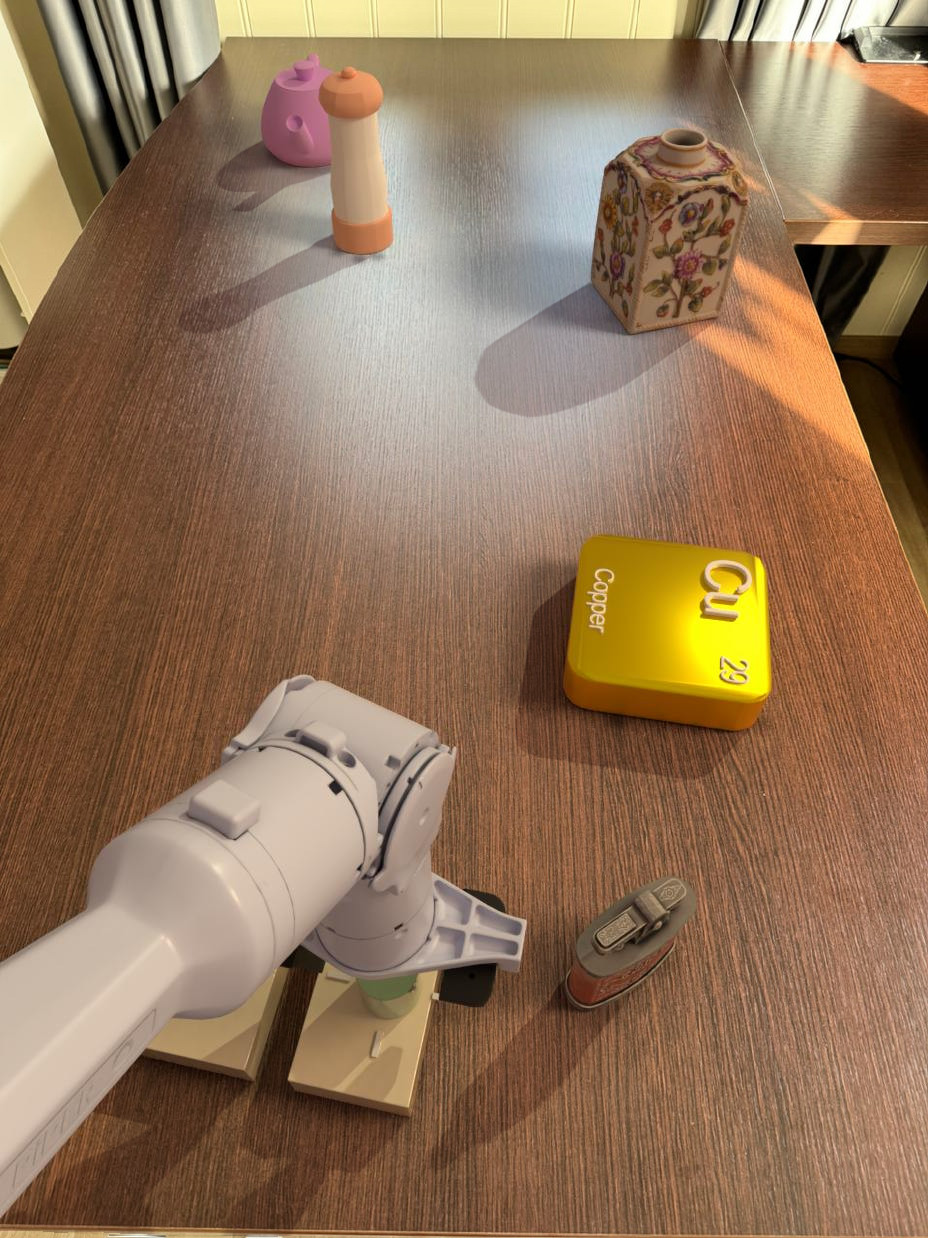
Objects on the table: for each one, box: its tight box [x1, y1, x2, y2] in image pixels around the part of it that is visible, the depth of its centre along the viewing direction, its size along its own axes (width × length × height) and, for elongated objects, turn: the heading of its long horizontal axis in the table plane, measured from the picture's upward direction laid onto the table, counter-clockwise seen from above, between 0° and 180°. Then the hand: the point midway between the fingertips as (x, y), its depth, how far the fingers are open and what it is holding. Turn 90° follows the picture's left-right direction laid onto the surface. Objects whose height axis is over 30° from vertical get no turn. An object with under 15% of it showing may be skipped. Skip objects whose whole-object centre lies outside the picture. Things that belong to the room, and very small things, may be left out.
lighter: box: [563, 875, 698, 1013], centre depth 53 cm, size 8×3×10 cm, turn 123°
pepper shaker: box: [318, 66, 394, 255], centre depth 103 cm, size 7×7×19 cm
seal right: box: [356, 973, 422, 1019], centre depth 51 cm, size 4×4×4 cm
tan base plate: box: [140, 966, 290, 1082], centre depth 56 cm, size 12×8×3 cm
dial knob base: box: [287, 962, 455, 1118], centre depth 54 cm, size 12×8×3 cm
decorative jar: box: [589, 127, 751, 335], centre depth 95 cm, size 12×12×18 cm
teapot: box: [260, 53, 335, 168], centre depth 120 cm, size 14×20×11 cm
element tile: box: [562, 533, 773, 732], centre depth 71 cm, size 15×15×5 cm
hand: (387, 968), depth 50 cm, fingers open, 7 cm apart
